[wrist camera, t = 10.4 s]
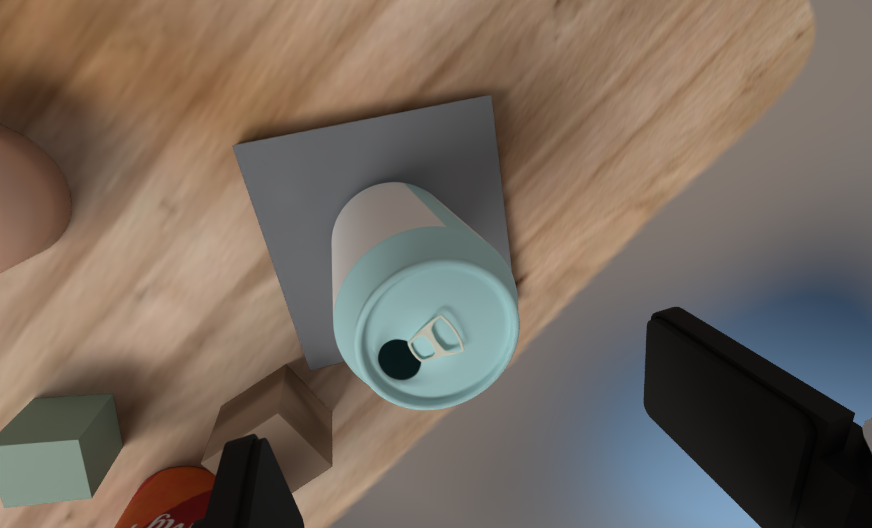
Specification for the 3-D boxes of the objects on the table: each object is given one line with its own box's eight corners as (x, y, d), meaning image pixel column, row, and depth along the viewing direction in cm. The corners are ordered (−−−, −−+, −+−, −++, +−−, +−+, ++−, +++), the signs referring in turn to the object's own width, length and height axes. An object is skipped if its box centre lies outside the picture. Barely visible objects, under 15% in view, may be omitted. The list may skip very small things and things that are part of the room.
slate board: (236, 143, 23) (232, 145, 22) (484, 95, 25) (491, 94, 24) (310, 360, 28) (309, 371, 27) (510, 305, 30) (516, 313, 29)
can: (423, 307, 27) (486, 441, 17) (314, 274, 25) (303, 406, 14) (468, 206, 26) (571, 279, 15) (356, 160, 24) (381, 208, 13)
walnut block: (221, 405, 28) (200, 463, 23) (286, 363, 28) (277, 413, 24) (271, 451, 30) (261, 513, 25) (331, 411, 30) (332, 466, 26)
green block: (34, 397, 25) (-16, 447, 22) (113, 392, 26) (78, 439, 22) (48, 452, 26) (4, 507, 23) (123, 445, 27) (91, 498, 24)
